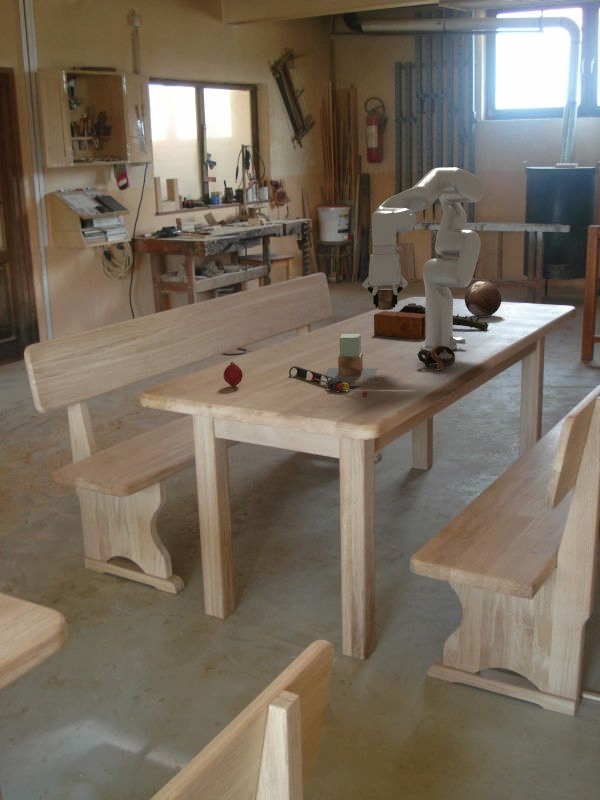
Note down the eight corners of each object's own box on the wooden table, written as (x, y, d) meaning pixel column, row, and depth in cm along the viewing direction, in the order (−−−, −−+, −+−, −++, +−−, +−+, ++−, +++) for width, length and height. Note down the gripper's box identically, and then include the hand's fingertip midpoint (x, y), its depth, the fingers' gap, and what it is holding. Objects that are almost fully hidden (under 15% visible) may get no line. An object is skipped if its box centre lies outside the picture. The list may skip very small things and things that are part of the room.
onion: (226, 384, 290) (224, 359, 288) (244, 384, 290) (243, 359, 288) (222, 389, 285) (221, 363, 283) (241, 389, 284) (240, 363, 282)
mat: (377, 369, 304) (377, 368, 304) (374, 379, 291) (374, 378, 291) (328, 368, 307) (328, 367, 307) (322, 379, 294) (322, 377, 294)
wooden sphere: (458, 318, 388) (459, 282, 384) (472, 312, 400) (473, 277, 396) (493, 321, 380) (494, 284, 376) (506, 315, 392) (507, 279, 389)
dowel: (393, 307, 306) (393, 288, 305) (392, 309, 301) (392, 291, 300) (378, 307, 307) (378, 288, 305) (377, 310, 302) (376, 291, 301)
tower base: (362, 370, 302) (362, 352, 300) (360, 375, 295) (360, 357, 293) (341, 370, 303) (340, 352, 301) (338, 375, 296) (338, 356, 295)
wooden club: (488, 329, 365) (489, 304, 362) (486, 332, 360) (487, 306, 358) (390, 326, 377) (390, 301, 375) (387, 328, 373) (387, 303, 370)
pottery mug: (450, 365, 310) (457, 346, 304) (449, 383, 303) (457, 364, 297) (414, 356, 310) (421, 337, 304) (413, 375, 303) (420, 355, 297)
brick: (419, 317, 347) (419, 340, 349) (429, 313, 354) (429, 335, 356) (372, 313, 357) (373, 335, 360) (383, 310, 364) (384, 331, 367)
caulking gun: (313, 366, 302) (287, 365, 296) (385, 388, 272) (358, 387, 266) (311, 379, 302) (285, 377, 297) (383, 402, 273) (356, 401, 267)
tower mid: (360, 352, 300) (360, 334, 298) (359, 356, 294) (358, 337, 292) (342, 352, 301) (341, 333, 299) (339, 356, 295) (339, 337, 293)
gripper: (412, 248, 301) (412, 304, 306) (359, 249, 304) (360, 305, 309) (410, 251, 294) (411, 308, 299) (356, 252, 297) (358, 309, 302)
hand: (385, 306), depth 304 cm, fingers closed on dowel, 5 cm apart
